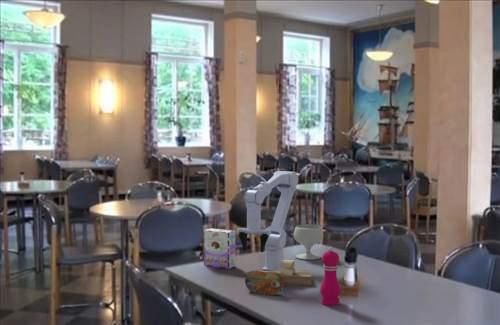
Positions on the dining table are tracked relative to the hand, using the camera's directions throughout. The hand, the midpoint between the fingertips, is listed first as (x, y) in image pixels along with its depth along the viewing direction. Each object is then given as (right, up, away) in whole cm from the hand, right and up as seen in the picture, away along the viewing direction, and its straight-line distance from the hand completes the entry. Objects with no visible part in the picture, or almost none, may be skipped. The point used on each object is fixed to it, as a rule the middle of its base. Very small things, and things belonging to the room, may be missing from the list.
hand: (253, 251), depth 237 cm
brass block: (+14, -12, -9) cm, 20 cm away
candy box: (-15, -10, +17) cm, 25 cm away
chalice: (+26, -9, +34) cm, 44 cm away
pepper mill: (+27, -13, -37) cm, 47 cm away
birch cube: (+14, -8, -10) cm, 18 cm away
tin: (+4, -12, -24) cm, 27 cm away
